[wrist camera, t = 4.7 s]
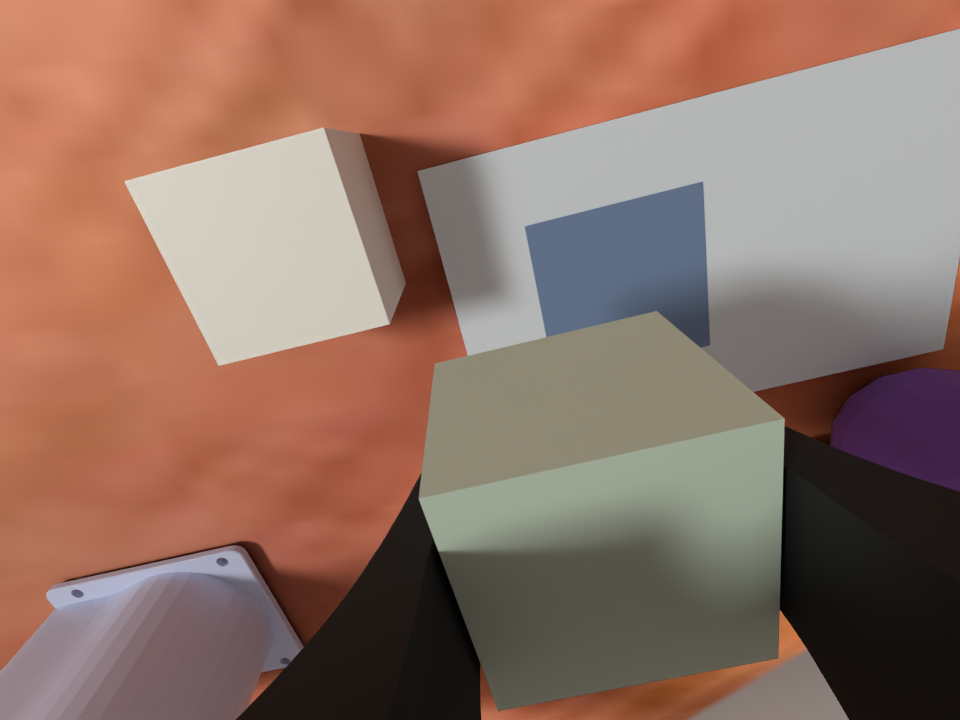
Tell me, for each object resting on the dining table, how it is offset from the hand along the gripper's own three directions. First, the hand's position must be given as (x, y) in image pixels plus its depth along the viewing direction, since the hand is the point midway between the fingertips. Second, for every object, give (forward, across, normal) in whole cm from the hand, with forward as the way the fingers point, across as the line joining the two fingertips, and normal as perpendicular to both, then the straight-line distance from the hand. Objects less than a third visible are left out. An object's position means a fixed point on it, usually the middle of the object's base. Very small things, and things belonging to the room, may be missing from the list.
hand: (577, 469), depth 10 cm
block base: (+2, 0, 0) cm, 2 cm away
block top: (+9, +6, -5) cm, 12 cm away
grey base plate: (+9, -7, -1) cm, 11 cm away
